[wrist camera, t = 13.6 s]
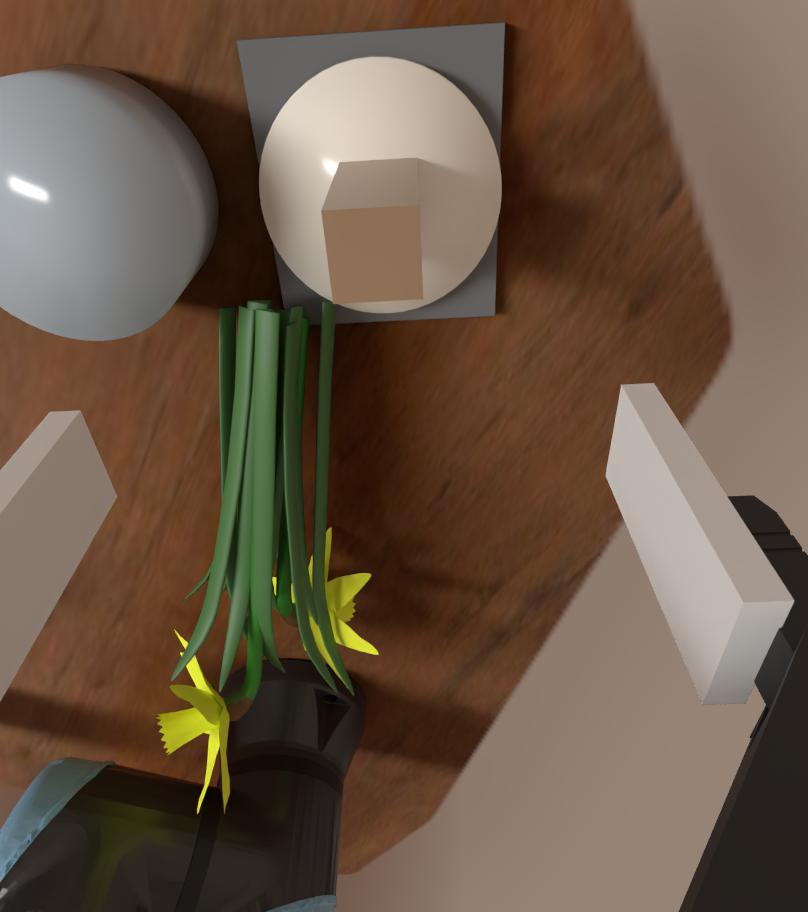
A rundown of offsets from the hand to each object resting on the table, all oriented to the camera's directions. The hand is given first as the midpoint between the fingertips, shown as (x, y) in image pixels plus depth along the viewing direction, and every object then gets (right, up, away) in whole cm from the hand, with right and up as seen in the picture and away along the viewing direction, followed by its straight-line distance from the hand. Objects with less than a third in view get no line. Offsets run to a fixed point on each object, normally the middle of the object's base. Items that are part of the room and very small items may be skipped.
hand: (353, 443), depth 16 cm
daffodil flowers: (-9, -2, +32) cm, 33 cm away
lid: (0, +14, +19) cm, 24 cm away
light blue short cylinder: (-15, +15, +20) cm, 29 cm away
